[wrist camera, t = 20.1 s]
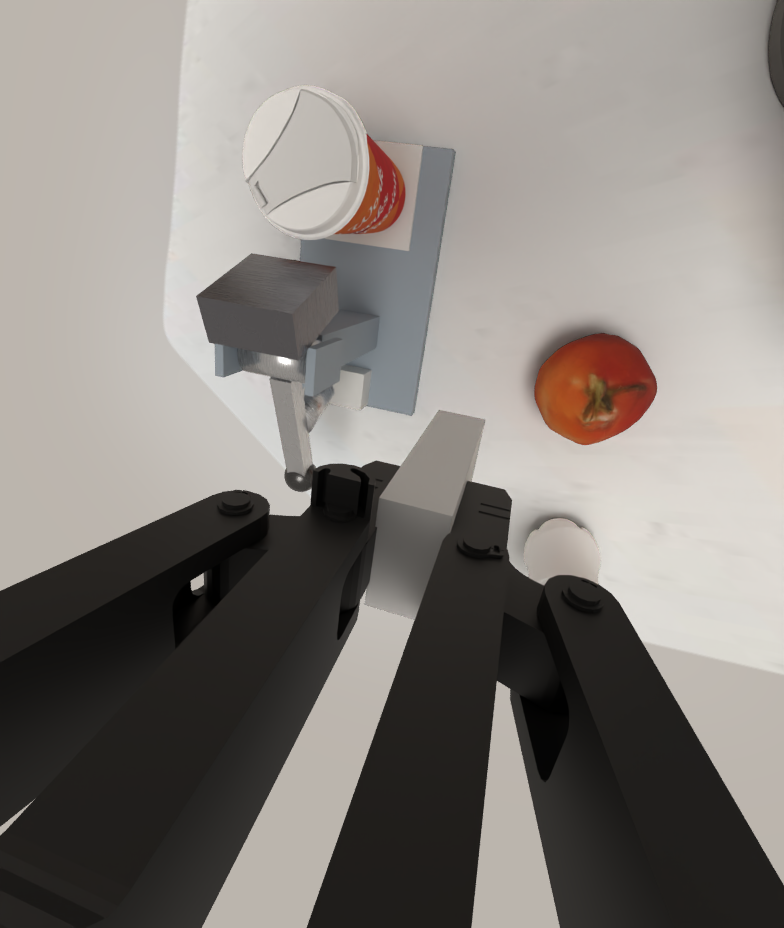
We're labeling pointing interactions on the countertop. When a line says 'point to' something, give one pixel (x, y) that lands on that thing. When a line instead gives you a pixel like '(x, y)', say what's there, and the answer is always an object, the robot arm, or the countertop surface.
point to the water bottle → (561, 552)
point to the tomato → (594, 388)
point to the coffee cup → (319, 167)
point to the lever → (277, 340)
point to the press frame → (379, 294)
